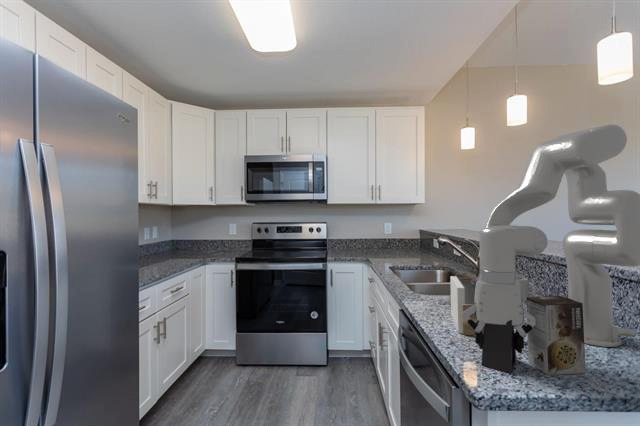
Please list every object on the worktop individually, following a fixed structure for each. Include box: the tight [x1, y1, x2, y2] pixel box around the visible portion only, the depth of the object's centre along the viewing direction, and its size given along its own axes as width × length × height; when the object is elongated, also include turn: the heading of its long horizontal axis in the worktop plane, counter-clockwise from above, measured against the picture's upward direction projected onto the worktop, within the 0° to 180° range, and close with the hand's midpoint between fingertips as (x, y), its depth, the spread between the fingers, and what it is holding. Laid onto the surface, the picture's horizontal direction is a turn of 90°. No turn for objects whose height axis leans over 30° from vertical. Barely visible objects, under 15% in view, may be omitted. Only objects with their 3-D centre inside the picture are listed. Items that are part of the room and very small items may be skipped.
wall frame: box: [449, 275, 465, 335], centre depth 99 cm, size 2×18×14 cm, turn 162°
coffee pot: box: [447, 274, 476, 307], centre depth 110 cm, size 21×12×15 cm, turn 52°
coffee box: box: [526, 295, 587, 376], centre depth 70 cm, size 9×6×16 cm
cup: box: [516, 277, 537, 302], centre depth 126 cm, size 7×10×9 cm
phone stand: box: [481, 320, 518, 375], centre depth 73 cm, size 9×6×12 cm, turn 138°
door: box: [462, 304, 484, 337], centre depth 87 cm, size 2×13×9 cm, turn 73°
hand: (498, 348), depth 73 cm, fingers open, 7 cm apart
